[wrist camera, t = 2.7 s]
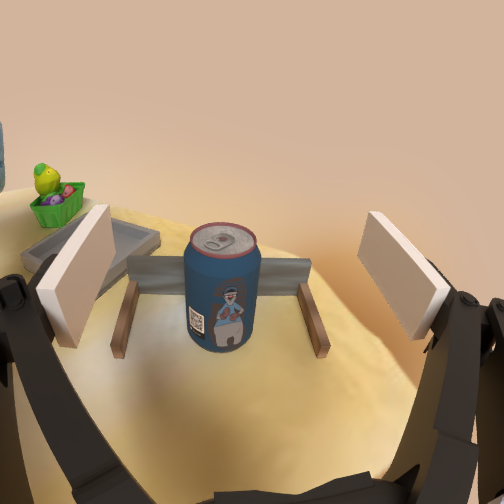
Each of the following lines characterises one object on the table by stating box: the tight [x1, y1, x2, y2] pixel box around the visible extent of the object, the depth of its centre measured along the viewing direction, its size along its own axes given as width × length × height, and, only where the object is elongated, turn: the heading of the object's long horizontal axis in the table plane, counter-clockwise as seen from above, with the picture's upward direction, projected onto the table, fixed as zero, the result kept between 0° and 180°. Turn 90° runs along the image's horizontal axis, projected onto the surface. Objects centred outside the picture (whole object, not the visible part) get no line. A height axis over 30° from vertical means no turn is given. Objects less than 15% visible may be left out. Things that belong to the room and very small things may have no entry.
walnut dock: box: [110, 255, 331, 359], centre depth 34 cm, size 12×22×5 cm, turn 96°
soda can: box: [184, 222, 261, 353], centre depth 30 cm, size 7×7×12 cm
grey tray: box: [20, 211, 160, 301], centre depth 42 cm, size 16×16×2 cm
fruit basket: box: [30, 163, 85, 228], centre depth 50 cm, size 11×9×11 cm
